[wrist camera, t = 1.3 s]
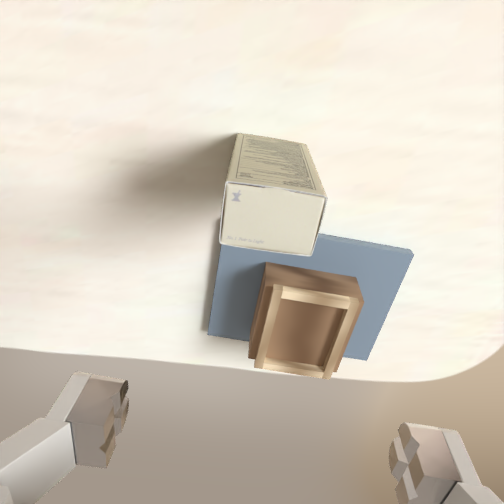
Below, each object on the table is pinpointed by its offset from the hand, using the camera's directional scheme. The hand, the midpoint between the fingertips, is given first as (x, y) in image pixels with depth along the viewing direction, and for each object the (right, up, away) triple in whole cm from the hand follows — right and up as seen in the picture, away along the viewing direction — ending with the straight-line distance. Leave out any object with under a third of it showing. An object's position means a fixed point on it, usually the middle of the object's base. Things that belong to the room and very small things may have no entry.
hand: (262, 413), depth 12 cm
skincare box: (+1, +13, +23) cm, 26 cm away
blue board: (+5, +1, +29) cm, 30 cm away
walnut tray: (+5, -1, +29) cm, 29 cm away
